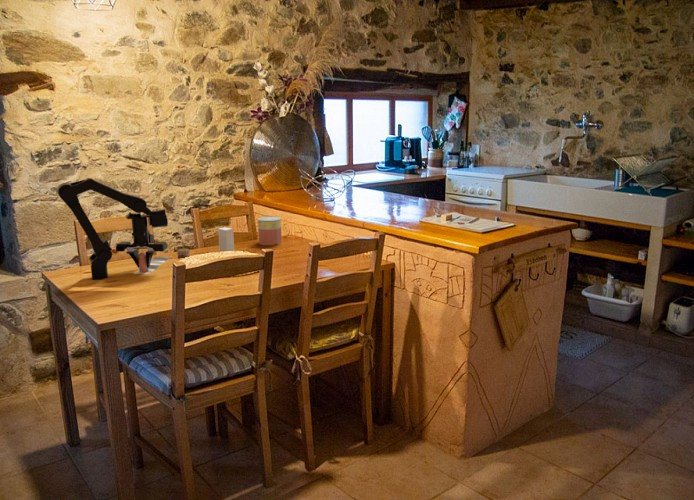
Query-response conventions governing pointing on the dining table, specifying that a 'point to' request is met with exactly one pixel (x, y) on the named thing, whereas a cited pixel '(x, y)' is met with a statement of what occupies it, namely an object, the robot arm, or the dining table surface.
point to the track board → (154, 264)
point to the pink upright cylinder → (142, 262)
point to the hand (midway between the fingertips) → (143, 267)
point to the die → (183, 253)
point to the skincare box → (226, 239)
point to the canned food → (269, 230)
